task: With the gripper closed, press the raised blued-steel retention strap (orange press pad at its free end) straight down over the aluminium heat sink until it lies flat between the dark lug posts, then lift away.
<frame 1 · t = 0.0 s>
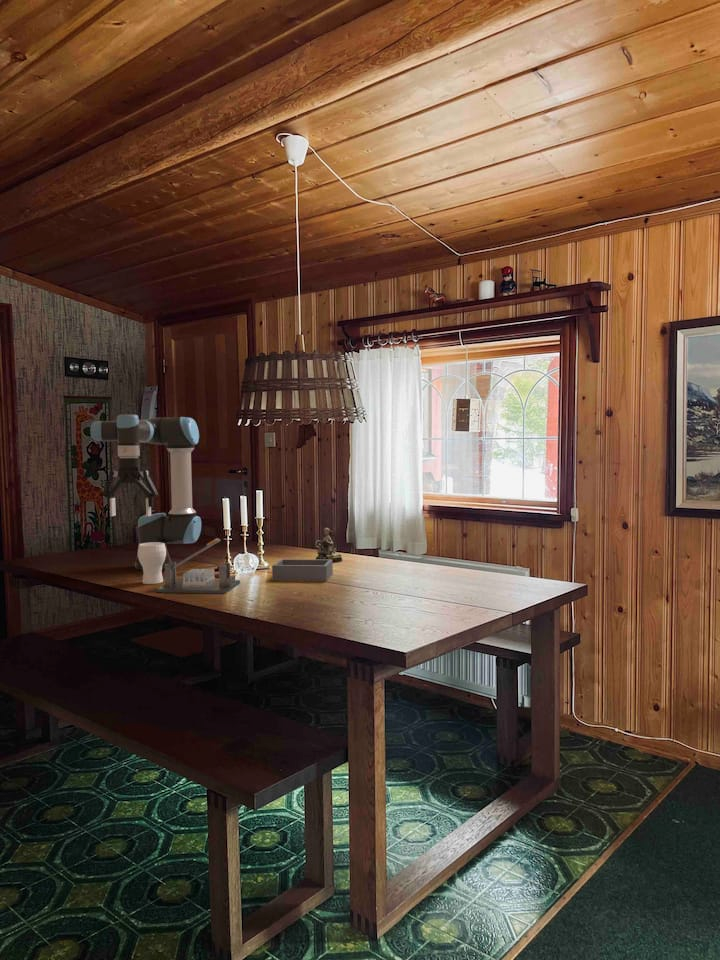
hand: (130, 516, 264), 28 cm above the table, fingers open, 13 cm apart
cup: (152, 582, 284), on the table
figurine: (328, 561, 326), on the table
strap: (193, 555, 271), point 12 cm above the table, hinge at 30.0°
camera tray: (303, 577, 289), on the table
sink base: (199, 587, 272), on the table
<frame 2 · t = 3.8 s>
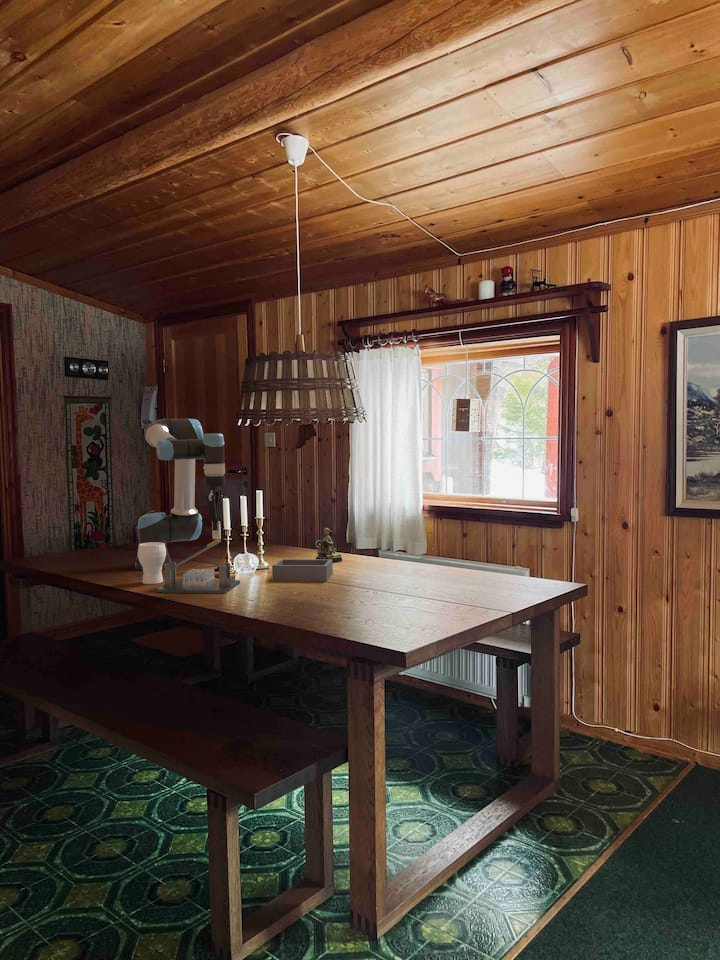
hand: (216, 538, 270), 19 cm above the table, fingers closed
strap: (193, 555, 271), point 12 cm above the table, hinge at 28.9°, touching gripper
everything else where it was.
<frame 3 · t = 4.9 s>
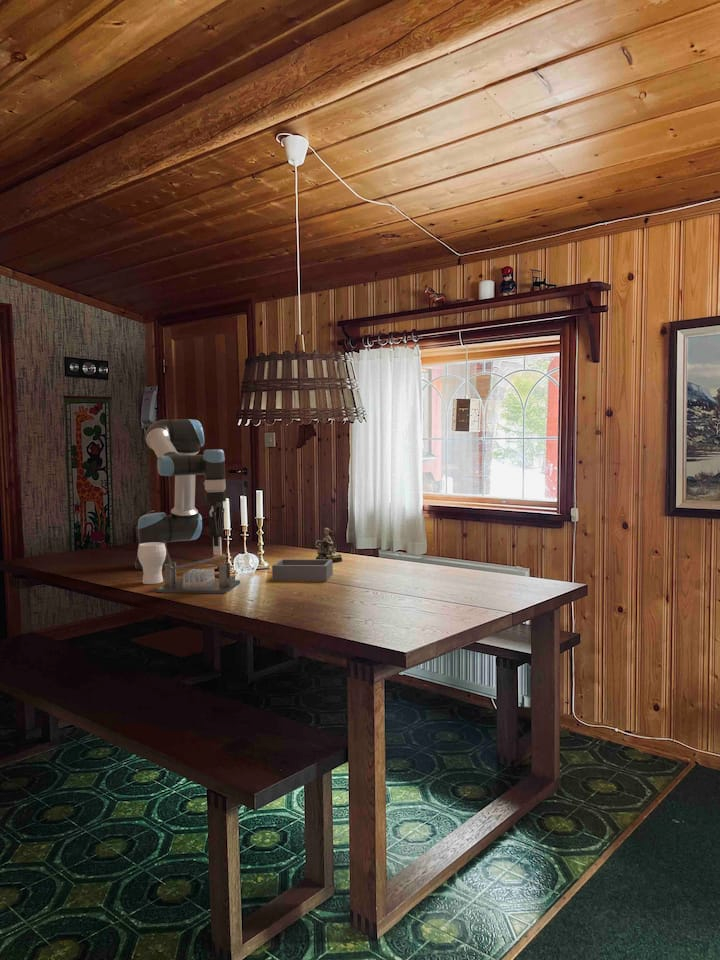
hand: (217, 554, 270), 13 cm above the table, fingers closed
strap: (196, 563, 272), point 9 cm above the table, hinge at 12.6°, touching gripper
everything else where it was.
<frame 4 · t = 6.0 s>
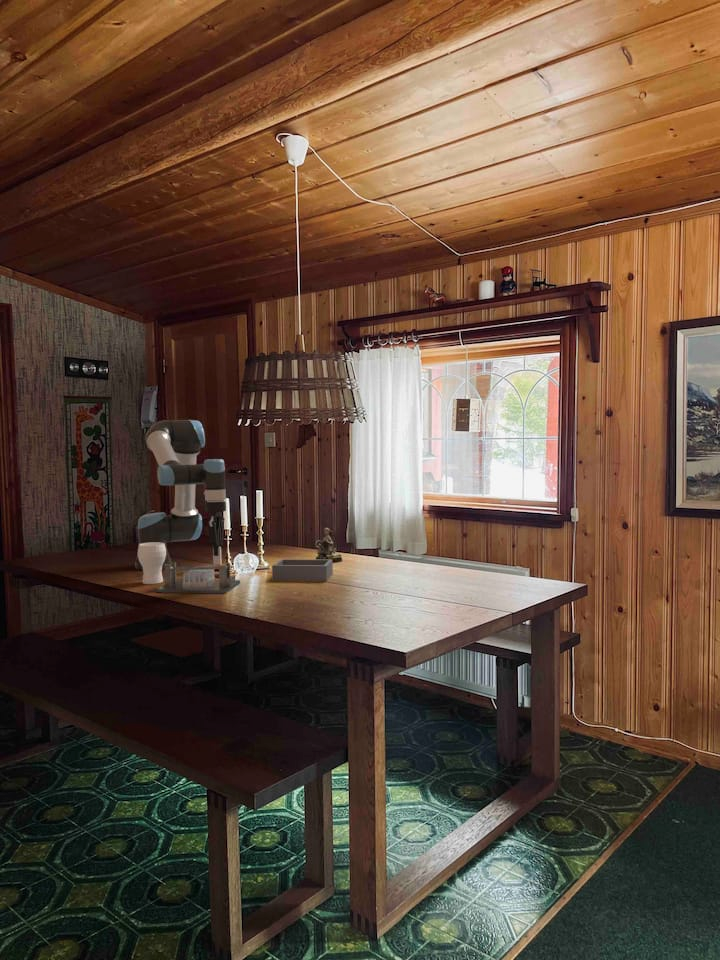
hand: (217, 564, 270), 9 cm above the table, fingers closed
strap: (197, 567, 272), point 8 cm above the table, hinge at 2.7°, touching gripper
everything else where it was.
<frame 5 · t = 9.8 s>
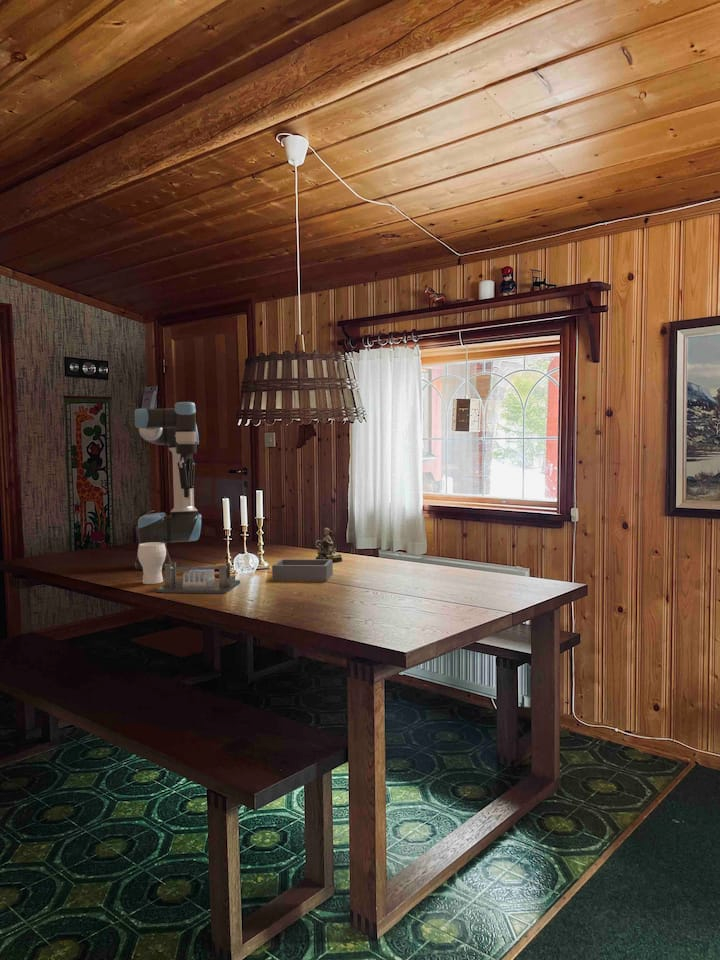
hand: (188, 505, 275), 30 cm above the table, fingers closed
strap: (197, 567, 272), point 8 cm above the table, hinge at 2.6°
everything else where it was.
at the end: strap at +3° (first picture: +30°) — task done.
